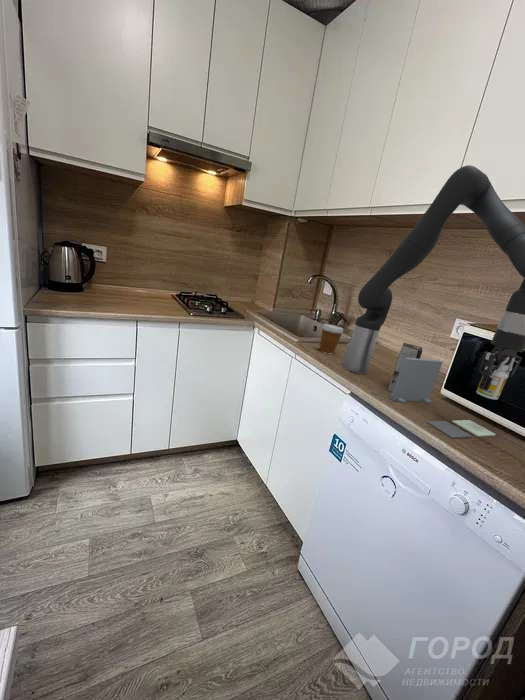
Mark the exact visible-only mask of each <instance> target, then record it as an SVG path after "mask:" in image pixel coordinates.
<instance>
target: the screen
mask: <svg viewBox="0 0 525 700" xmlns="http://www.w3.org/2000/svg"><path fill="white" fill-rule="evenodd" d="M443 363H444V362H443V361H442V360H437V359H424V358H420V359H416V358H404V360H403V363H402V366H401V369H400V372H399V375H398V378H397V381H396V384H395V387H394V390H393V391H392V393H389V395H388V397H389V398H390V400H391V401H393V402H397V403H399V404H400V405H402V404H403V405H404V404H406V403H407V402H423V403H425V404H429V405H430V404H431V403H432V400H431V399H430V397H431V395H432V393H433V390H434V388H435V384H436V382H437V379H438V376H439V374H440V371H441V368H442V366H443Z"/></svg>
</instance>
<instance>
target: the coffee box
mask: <svg viewBox="0 0 525 700" xmlns="http://www.w3.org/2000/svg"><path fill="white" fill-rule="evenodd" d="M422 353H423V347H422V346H418V345H415V344H411V343H405V342H403V344H402V346H401V350H400V353H399V355H398V357H397V362H396V363H395V366H394V370H393V373H392V377H391V380H390V382H389V386H388V388H387V389H388V391H391V392H393V390H394V387H395V384H396V381H397V378H398V375H399V372H400V369H401V366H402V363H403V360H404V358H416V359H421V357H422Z"/></svg>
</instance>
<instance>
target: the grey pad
mask: <svg viewBox="0 0 525 700" xmlns="http://www.w3.org/2000/svg"><path fill="white" fill-rule="evenodd" d="M426 424H427V425H429V426H431V427H433V428H434V429H436V430H438V431H439V432H441V433H442V434H443V435H445V436H447V437H449V438H450V439H452V440H453V439H465V438H467V439H468V438H472V437H473V435H471V434H469V433H468V432H465V431H464V430H463V429H462V428H461V429H460V428H459V427H457V426H455V425H454V424H452V423H450V422H448V421H447V420H436V421H435V420H433V421H432V420H431V421H429V420H428V421H426Z"/></svg>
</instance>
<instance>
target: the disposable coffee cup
mask: <svg viewBox="0 0 525 700" xmlns="http://www.w3.org/2000/svg"><path fill="white" fill-rule="evenodd" d="M343 333H344V328H343V327H341V326H338V325H334V324H329V323H323V325H322V326H321V336H320V343H319V350H321V351H323V352H326V353H335V351H336V348H337V347H338V346H337V345H338V344H339V341H340V339H341V337H342V334H343Z"/></svg>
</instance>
